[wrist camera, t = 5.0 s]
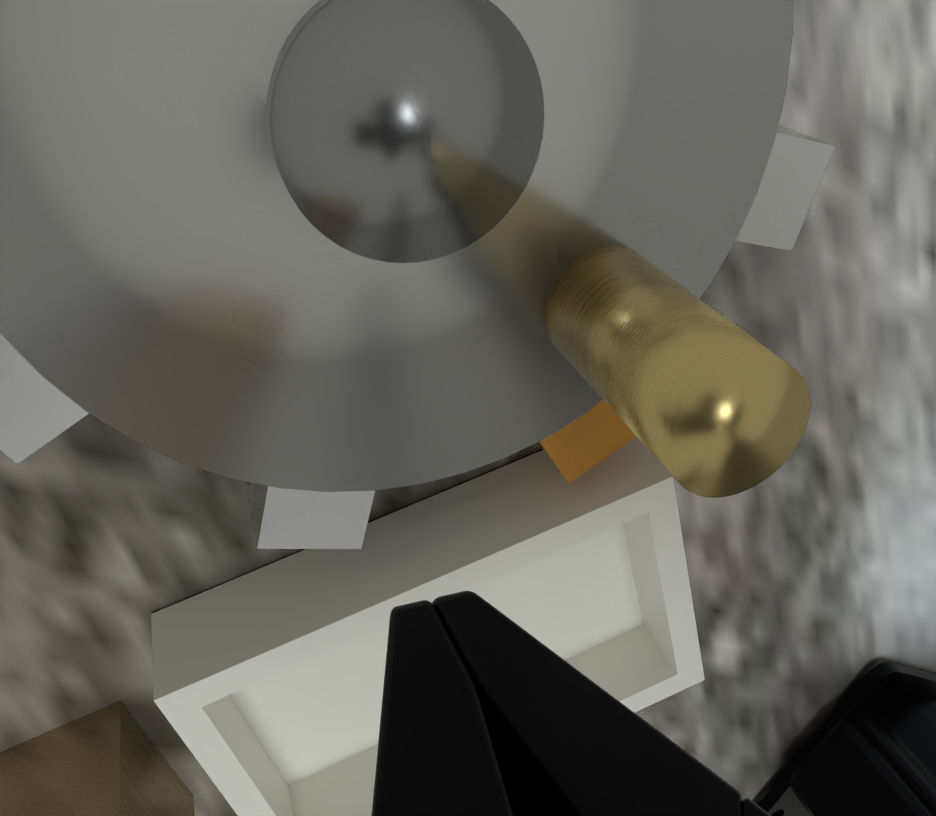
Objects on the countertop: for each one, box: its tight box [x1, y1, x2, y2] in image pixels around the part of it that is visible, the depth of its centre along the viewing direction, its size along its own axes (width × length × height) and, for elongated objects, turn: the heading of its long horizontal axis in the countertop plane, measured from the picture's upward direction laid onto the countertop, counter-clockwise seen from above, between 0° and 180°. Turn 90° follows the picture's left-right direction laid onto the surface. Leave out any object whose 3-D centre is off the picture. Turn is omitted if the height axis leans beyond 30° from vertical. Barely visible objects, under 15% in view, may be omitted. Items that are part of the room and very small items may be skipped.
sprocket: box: [0, 0, 835, 549], centre depth 11 cm, size 15×15×6 cm
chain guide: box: [151, 437, 705, 816], centre depth 18 cm, size 10×6×2 cm, turn 105°
